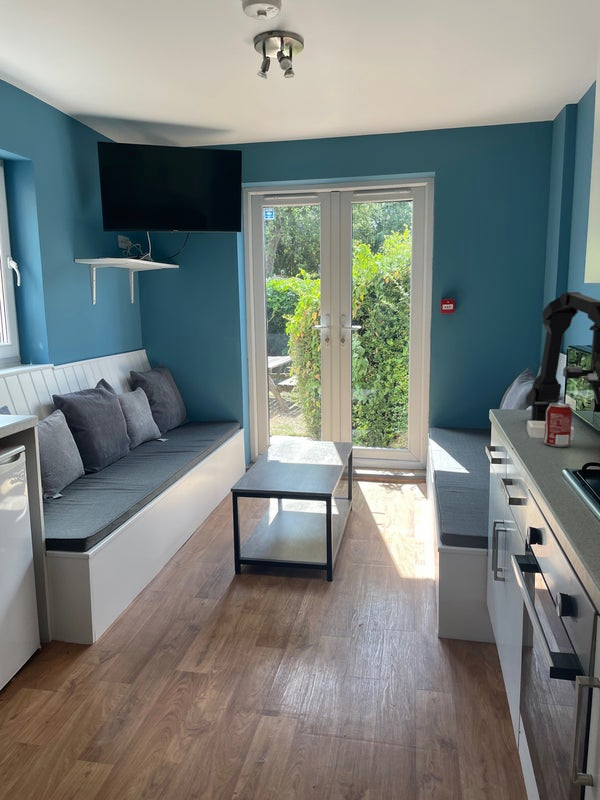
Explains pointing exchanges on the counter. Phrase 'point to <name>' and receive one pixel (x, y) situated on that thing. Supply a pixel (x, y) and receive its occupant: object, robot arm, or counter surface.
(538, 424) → the bin
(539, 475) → the counter surface
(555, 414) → the soda can
